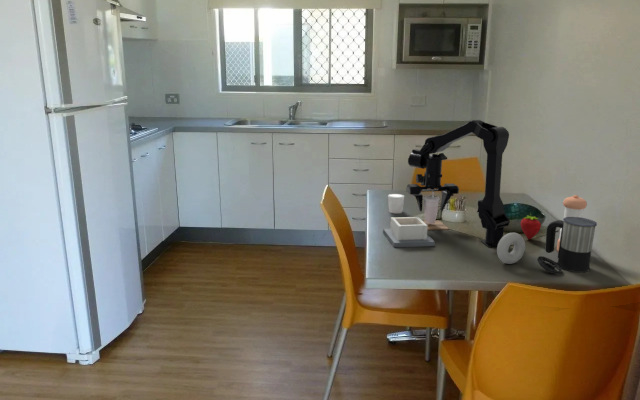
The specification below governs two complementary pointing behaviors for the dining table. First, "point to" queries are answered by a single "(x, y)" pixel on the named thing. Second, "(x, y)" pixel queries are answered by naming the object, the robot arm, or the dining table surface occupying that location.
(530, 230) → the strawberry
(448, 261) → the dining table surface
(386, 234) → the white open box
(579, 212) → the pepper shaker
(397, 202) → the shot glass
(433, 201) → the smoothie
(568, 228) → the milk frother
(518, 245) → the donut
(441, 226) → the coaster
